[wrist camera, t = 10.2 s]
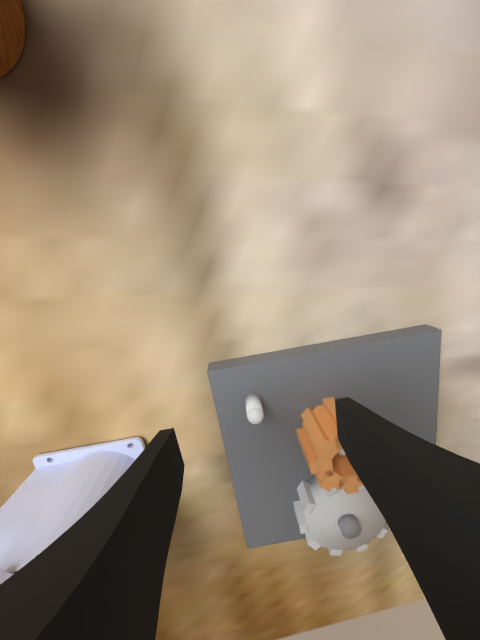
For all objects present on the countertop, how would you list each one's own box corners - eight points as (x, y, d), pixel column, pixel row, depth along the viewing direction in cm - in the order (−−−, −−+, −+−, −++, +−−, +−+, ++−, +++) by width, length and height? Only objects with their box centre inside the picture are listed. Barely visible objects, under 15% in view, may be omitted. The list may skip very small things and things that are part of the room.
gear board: (246, 531, 25) (250, 586, 21) (208, 363, 20) (203, 391, 16) (420, 500, 25) (458, 549, 21) (426, 324, 20) (477, 342, 16)
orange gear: (300, 460, 21) (314, 500, 18) (292, 404, 20) (306, 435, 16) (365, 449, 21) (391, 486, 18) (362, 391, 20) (391, 420, 16)
